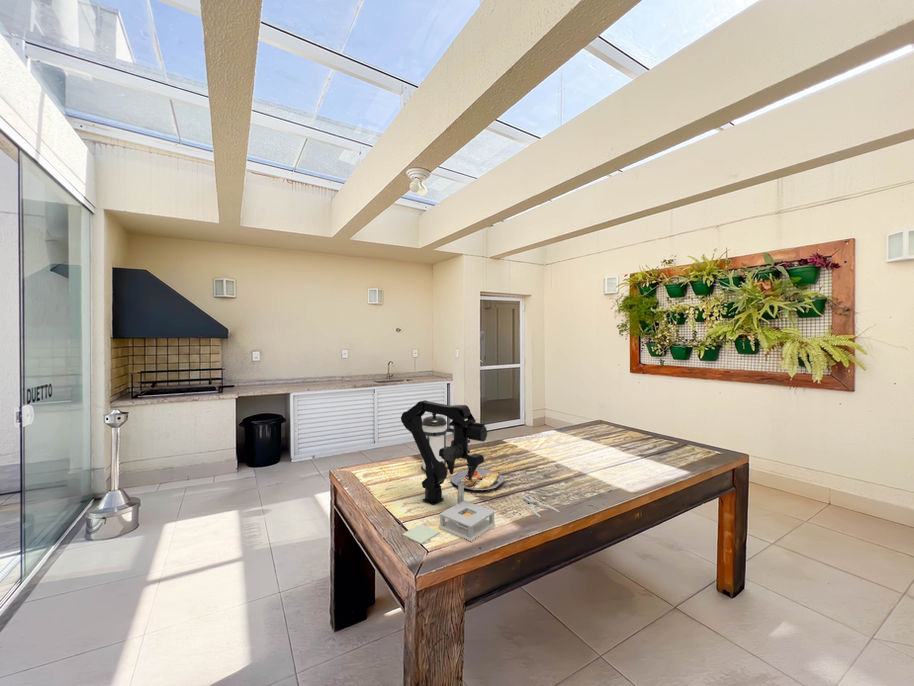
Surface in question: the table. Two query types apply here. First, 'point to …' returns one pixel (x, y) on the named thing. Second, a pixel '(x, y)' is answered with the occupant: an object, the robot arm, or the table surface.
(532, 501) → the pliers
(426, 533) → the mat
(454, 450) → the robot arm
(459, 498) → the shiny metal cylinder
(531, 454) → the table surface
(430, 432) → the coffee press
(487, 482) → the food plate
